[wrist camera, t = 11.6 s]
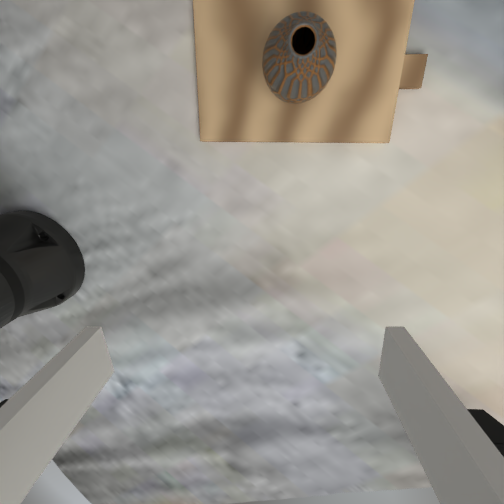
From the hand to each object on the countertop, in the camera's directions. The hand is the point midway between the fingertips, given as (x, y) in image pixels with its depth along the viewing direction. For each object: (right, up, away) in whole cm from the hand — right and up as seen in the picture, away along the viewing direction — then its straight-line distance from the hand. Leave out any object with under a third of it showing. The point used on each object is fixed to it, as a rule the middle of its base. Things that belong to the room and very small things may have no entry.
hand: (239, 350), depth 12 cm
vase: (+5, +24, +17) cm, 30 cm away
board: (+7, +24, +17) cm, 31 cm away
